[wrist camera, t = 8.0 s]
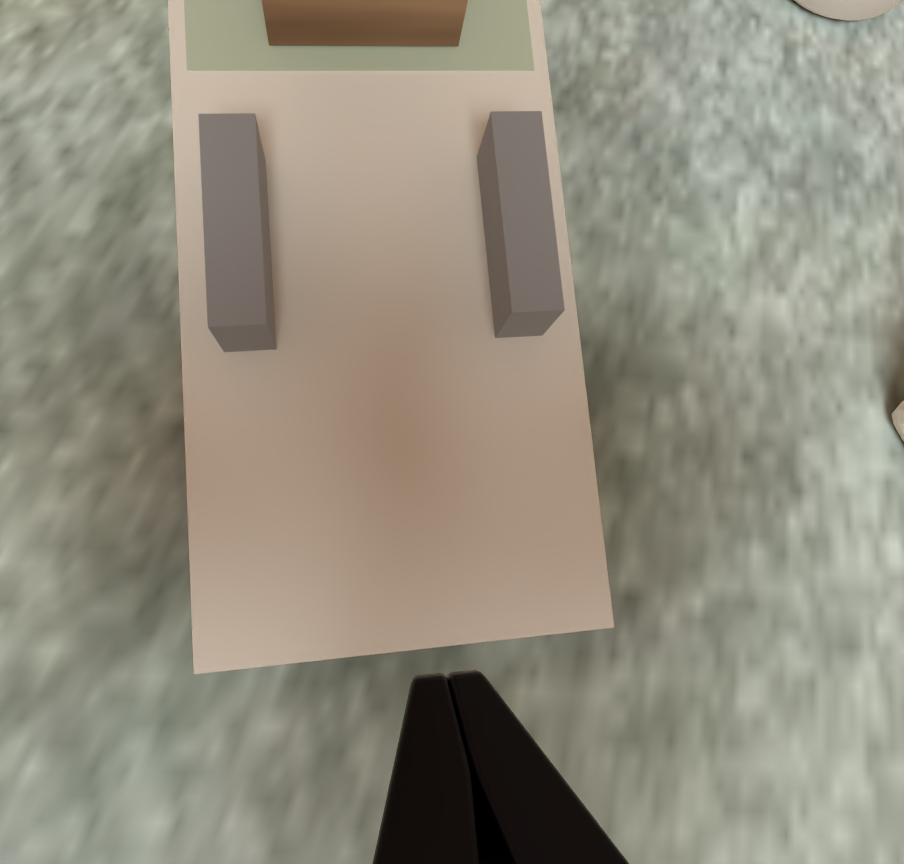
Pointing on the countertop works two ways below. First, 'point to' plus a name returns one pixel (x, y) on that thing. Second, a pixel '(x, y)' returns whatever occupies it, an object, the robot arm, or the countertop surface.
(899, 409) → the pepper shaker
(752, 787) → the countertop surface
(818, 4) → the cup
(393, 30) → the walnut block
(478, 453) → the pink base plate
